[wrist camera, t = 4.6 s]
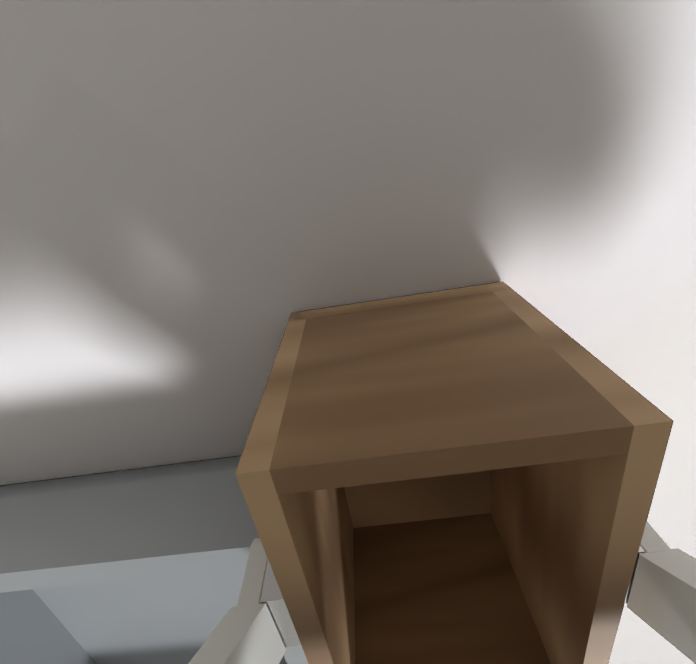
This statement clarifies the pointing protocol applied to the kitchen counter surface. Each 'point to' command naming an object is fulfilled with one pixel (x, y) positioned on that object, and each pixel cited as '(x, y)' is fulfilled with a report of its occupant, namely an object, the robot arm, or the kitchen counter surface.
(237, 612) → the robot arm
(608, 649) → the small crate
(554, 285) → the kitchen counter surface
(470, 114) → the kitchen counter surface
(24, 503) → the grey square tray
